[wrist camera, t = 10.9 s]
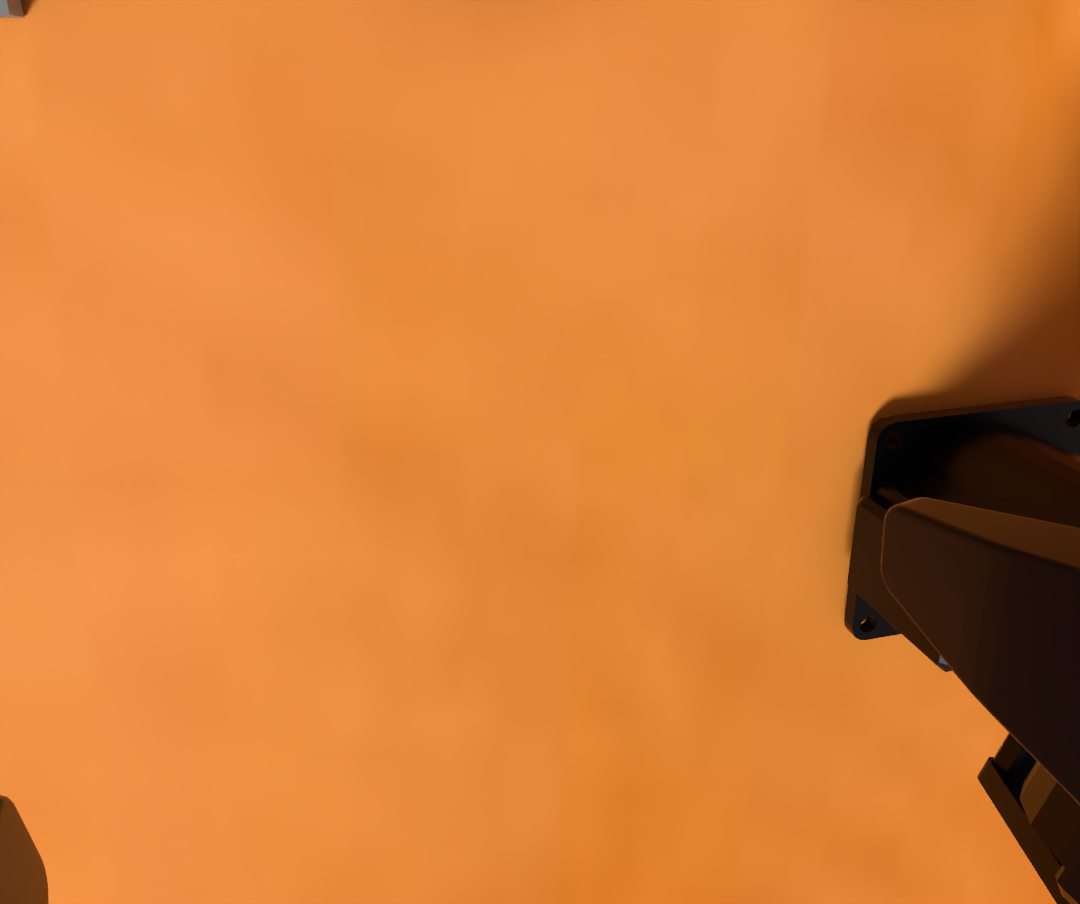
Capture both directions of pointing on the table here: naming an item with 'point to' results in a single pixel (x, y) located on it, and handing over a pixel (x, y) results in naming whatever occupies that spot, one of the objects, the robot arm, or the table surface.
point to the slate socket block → (11, 8)
